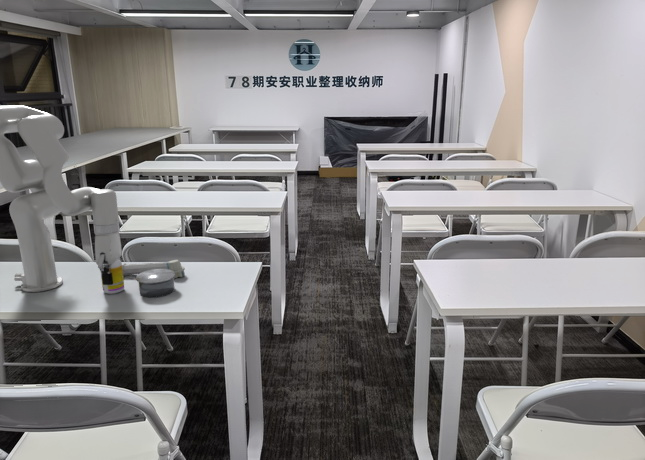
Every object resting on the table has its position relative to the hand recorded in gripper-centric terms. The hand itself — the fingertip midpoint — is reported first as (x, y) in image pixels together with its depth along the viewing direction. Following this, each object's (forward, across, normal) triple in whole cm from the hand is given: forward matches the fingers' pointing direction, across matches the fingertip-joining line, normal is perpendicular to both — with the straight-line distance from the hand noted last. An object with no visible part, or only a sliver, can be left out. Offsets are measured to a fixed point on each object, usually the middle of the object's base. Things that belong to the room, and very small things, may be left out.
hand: (112, 279), depth 168 cm
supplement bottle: (+4, 0, 0) cm, 4 cm away
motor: (+4, 0, +14) cm, 15 cm away
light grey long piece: (+4, -14, +7) cm, 17 cm away
